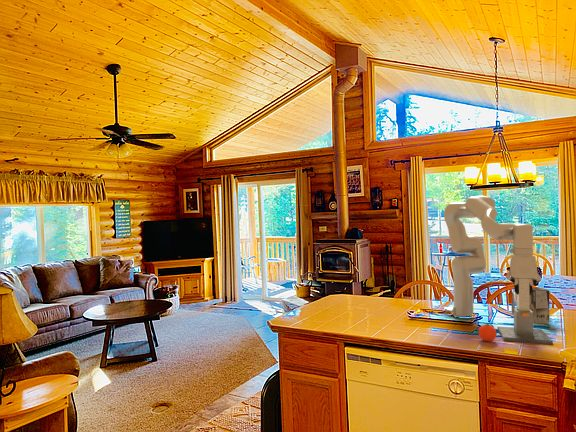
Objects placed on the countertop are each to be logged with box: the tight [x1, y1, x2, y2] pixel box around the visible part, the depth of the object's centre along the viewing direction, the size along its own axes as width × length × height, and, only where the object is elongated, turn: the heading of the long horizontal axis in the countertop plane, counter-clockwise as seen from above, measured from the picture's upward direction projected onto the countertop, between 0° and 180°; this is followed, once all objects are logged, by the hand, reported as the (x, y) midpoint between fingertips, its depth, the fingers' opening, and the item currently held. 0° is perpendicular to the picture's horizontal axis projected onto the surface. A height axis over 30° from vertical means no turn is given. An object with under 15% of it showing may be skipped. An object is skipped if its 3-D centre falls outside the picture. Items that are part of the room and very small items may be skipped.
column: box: [516, 279, 530, 312], centre depth 186 cm, size 4×4×19 cm
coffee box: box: [529, 287, 550, 324], centre depth 212 cm, size 9×6×16 cm
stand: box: [497, 307, 554, 345], centre depth 186 cm, size 18×18×12 cm
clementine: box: [478, 323, 497, 343], centre depth 181 cm, size 8×7×7 cm
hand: (523, 293), depth 186 cm, fingers closed on column, 4 cm apart
